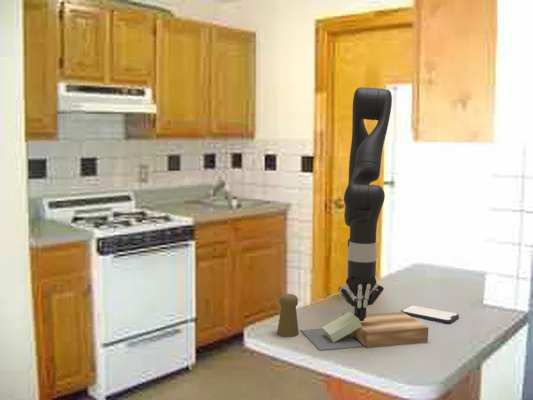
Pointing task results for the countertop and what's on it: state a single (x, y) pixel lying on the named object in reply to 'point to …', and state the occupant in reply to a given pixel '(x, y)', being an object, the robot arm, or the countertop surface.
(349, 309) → the flask
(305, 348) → the countertop surface
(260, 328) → the countertop surface
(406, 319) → the board
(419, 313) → the phone case
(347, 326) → the block
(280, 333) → the pepper mill
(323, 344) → the mat
